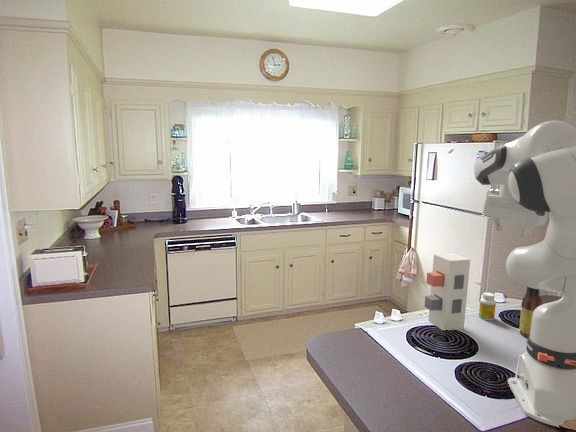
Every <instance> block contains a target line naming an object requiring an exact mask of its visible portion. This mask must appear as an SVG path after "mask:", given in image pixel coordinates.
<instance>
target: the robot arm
mask: <svg viewBox="0 0 576 432" xmlns="http://www.w3.org/2000/svg"><path fill="white" fill-rule="evenodd" d="M473 167H474V168H473V171H474V172H473V173H474V178H475V180H476V181H477V182H479V184H480V185H482V186H489V185H490V186H492V185H499V186H500V187H499V189H495V188H492V189H490V190H488V191H487V192H486V198H485V201H484V206H483V214H484V216H487V217H491V218H492V222H493V224H494V231H496V232H501V231H503V225H501V223H500V222H501V221H500V220H501V219H502V220H506V221H511V222H516V223H520V224H524V230H521V231H520V237H521V238H529V234H530V231H532V229H533V228H534V226H536V227H539V226H543V225H545V224H546V223H547V220H548V216H549V222H548V226H547V228H546V233H545V237H544V239H543V240H541V241H540V242H537V243H534V244H531V245H527V246H519V247H516V248H514V249H513V250H511V252H510V253H509V254H508V256H507V258H506V262H505V270H506V273H507V276H508V277H509V279H510V280H511V281H512V282H513V283H515V284H519V285H520V286H524V287H526V288H527V287H530V288H534V289H539V291H547V292H552V293H558V294H559V293H560V294H564V295H563V296H562V297H560V298H559V299H558V300H554V301H550V302H546V303H542V305H540V306H538V307H537V308H536V309H535V310H534V312H533V315H532V323H531V331H530V335H529V336H528V338H527V339H526V343H525V344H526V346H525V347H526V348H525V349H526V350H525V352H523V353H521V354H520V355H518V359H517V366H516V371H515V376H513V377H509V378H508V379H507V382H508V383H507V385H508V384H509V385H508V386H509V388H510V390H511V392H512V393H513V395H514V397H515V399H516V401H517V403H518V406H520V408H521V410H522V412H523V414H524V415H525V416H527V417H529V418H531V419H532V420H536V421H538V422H539V423H543V424H546V425H550V426H552V427H557V428H560V427H559V425H561V424H563V423H564V421H566V420H572V419H575V418H576V128H575V127H574V126H573V125H572V124H571V123H569V122H566V121H563V120H557V119H556V120H555V119H553V120H547V121H544V122H541V123H539V124H537V125H535V126H534V127H532V128H530V129H529V130H528V131H526V133H524V135H522V136H520V137H518V138H516V139H514V140H511V141H508V142H507V143H505V144H501V145H499V146H497V147H495V148H493V149H491V150H490V151H484V152H482V153H481V154H480V155H478V157H477V158H476V159H475V162H474V166H473ZM560 429H561V428H560Z"/></svg>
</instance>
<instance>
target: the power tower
mask: <svg viewBox="0 0 576 432" xmlns="http://www.w3.org/2000/svg"><path fill="white" fill-rule="evenodd" d="M432 261H433V262H432V272H440V273H442V274H445V276H444V286H437V287H433V286H431V285H430V286H431V287H430V296H433V295H437V296H439V297H441V298H442V299H443V300H442V310H434V311H431V310H429V309H428V310H429V311H428V312H429V313H428V321H429V323H431V324H433V325H434V326H436V327H438V328H439V330H441V331H443V330H444V331H443V332H446V331H445V330H448V331H454V330H463V329H464V330H465V319H466V310H467V309H466V308H467V300H468V299H467V298H468V288H469V287H468V286H469V277H470V267H471V259H470V258H468V257H464V256H461V255H459V254H456V253H453V252H452V253H451V252H450V253H449V252H448V253H435V254H433V260H432Z"/></svg>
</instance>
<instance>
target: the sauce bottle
mask: <svg viewBox="0 0 576 432" xmlns="http://www.w3.org/2000/svg"><path fill="white" fill-rule="evenodd" d="M525 291H526V292H525V295H524V297H523V298H522V301H521V303H520V305H521V306H520V316H519V317H520V318H519V327H518V328H519V334H520V335H521V336H523V337H524V338H527V339H528V336H529V335H530V331H531V323H532V315H533V312H534V310H535V309H536V308H537V307H538V306H540V305H542V304H543V300H542V297H541V296H540V289H534V288H530V287H527V286H526V290H525Z"/></svg>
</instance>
